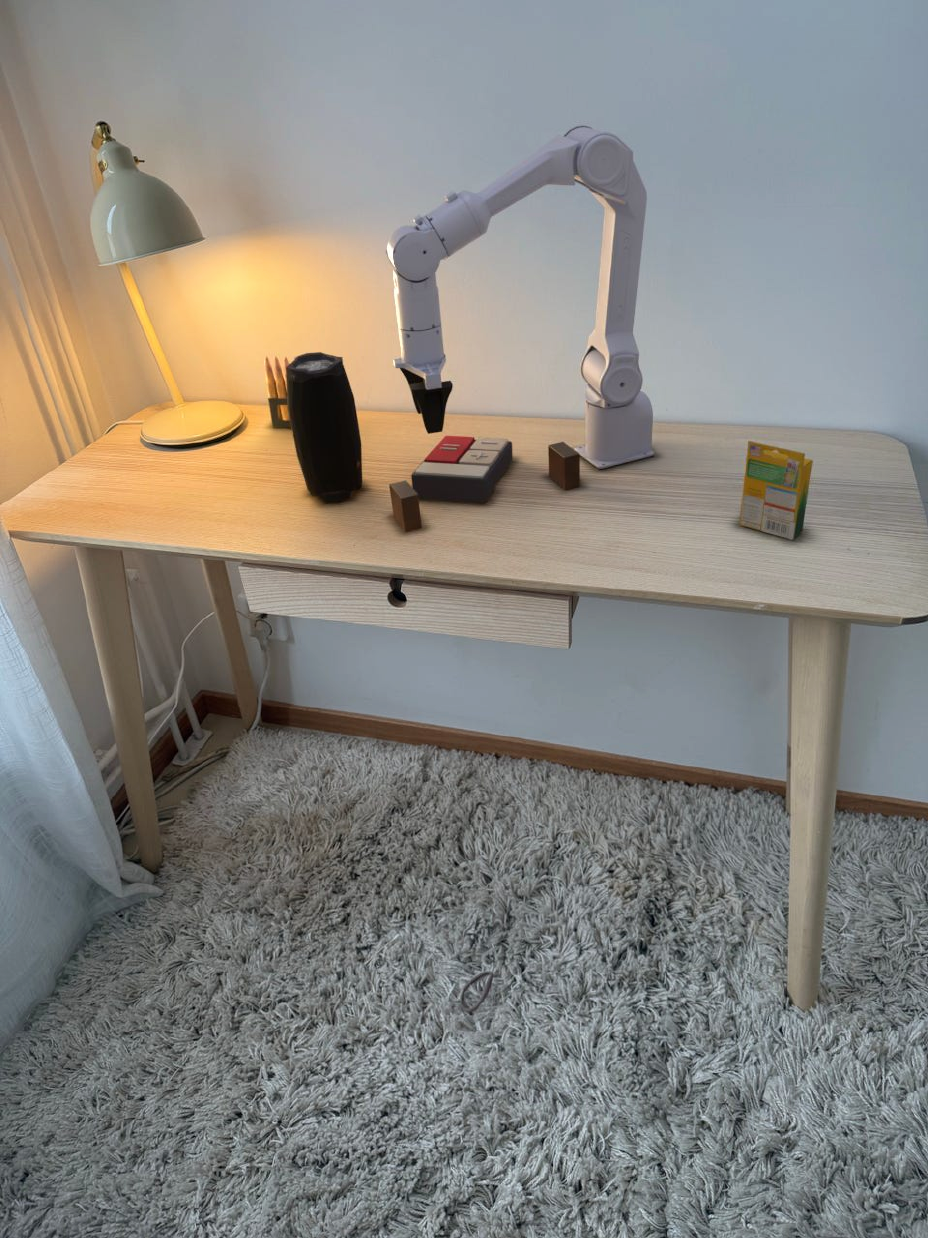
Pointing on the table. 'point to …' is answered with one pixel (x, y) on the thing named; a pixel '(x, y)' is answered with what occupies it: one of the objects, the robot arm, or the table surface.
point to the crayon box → (775, 490)
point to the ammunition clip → (277, 393)
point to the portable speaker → (324, 425)
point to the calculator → (462, 469)
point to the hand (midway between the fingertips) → (429, 421)
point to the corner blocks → (560, 470)
